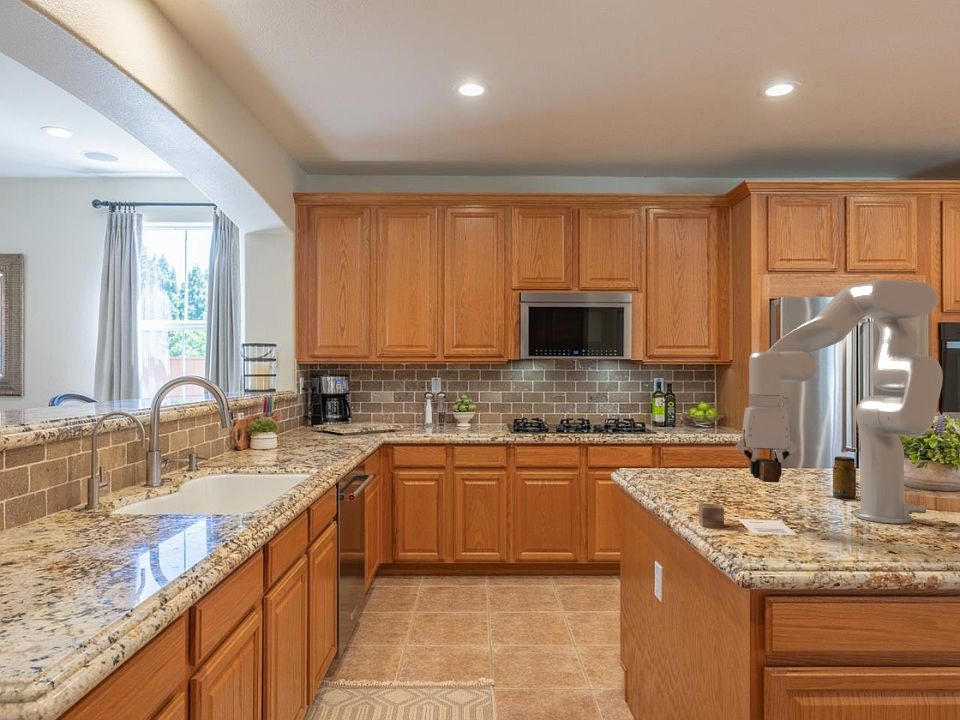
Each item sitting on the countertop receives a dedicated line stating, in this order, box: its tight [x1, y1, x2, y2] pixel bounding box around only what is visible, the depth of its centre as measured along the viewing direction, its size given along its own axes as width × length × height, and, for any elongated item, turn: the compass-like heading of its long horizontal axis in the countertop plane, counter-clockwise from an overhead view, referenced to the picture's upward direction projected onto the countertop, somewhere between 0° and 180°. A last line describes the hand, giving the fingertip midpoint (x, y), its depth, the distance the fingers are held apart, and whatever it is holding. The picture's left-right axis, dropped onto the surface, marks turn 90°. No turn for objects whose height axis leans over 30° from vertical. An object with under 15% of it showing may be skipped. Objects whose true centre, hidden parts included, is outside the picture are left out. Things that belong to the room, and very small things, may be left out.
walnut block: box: [698, 502, 725, 529], centre depth 155 cm, size 5×5×5 cm
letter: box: [738, 518, 798, 536], centre depth 154 cm, size 10×14×1 cm
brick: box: [757, 457, 782, 484], centre depth 154 cm, size 11×4×5 cm, turn 170°
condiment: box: [826, 455, 861, 502], centre depth 189 cm, size 7×8×12 cm
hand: (765, 477), depth 154 cm, fingers closed on brick, 4 cm apart
